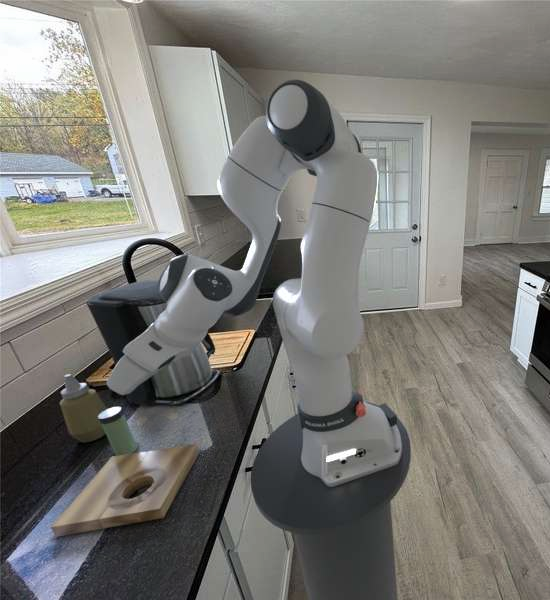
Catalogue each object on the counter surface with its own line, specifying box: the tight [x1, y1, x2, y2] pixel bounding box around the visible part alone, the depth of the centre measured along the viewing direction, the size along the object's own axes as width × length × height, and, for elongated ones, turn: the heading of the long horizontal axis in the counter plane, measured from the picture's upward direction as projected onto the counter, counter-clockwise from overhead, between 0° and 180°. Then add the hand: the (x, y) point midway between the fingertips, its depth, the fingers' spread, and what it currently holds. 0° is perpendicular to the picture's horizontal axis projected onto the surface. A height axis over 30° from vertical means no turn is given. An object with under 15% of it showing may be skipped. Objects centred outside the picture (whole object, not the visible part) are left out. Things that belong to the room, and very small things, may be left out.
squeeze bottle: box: [59, 373, 108, 443], centre depth 78 cm, size 8×8×18 cm
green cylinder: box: [98, 406, 138, 456], centre depth 74 cm, size 4×4×12 cm
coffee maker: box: [85, 279, 221, 407], centre depth 93 cm, size 23×32×34 cm
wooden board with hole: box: [50, 443, 200, 537], centre depth 65 cm, size 18×16×2 cm
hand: (146, 376), depth 67 cm, fingers open, 8 cm apart
